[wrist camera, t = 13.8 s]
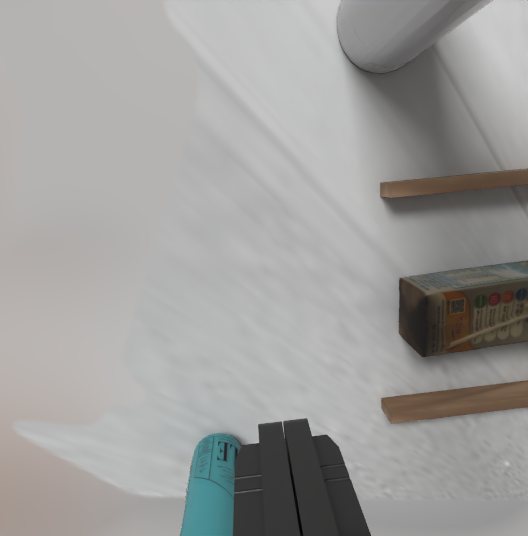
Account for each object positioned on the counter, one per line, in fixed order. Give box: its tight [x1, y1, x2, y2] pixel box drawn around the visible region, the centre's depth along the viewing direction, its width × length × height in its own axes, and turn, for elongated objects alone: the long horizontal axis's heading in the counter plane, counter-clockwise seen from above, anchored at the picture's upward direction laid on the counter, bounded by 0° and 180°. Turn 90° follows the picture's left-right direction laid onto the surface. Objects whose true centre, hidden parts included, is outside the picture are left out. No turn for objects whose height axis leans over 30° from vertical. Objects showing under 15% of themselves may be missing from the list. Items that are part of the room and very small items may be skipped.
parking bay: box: [380, 169, 528, 424], centre depth 40 cm, size 29×22×3 cm
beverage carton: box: [399, 261, 528, 357], centre depth 38 cm, size 8×19×7 cm, turn 97°
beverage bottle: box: [180, 433, 241, 536], centre depth 35 cm, size 6×7×20 cm
